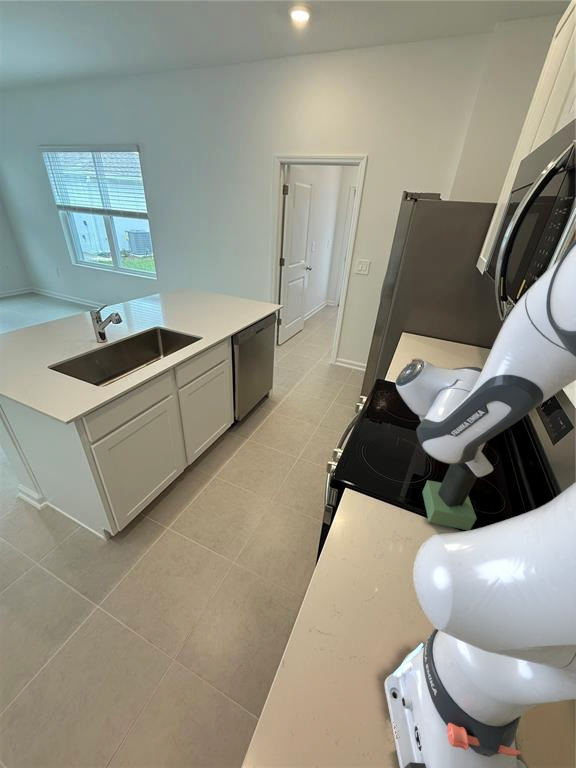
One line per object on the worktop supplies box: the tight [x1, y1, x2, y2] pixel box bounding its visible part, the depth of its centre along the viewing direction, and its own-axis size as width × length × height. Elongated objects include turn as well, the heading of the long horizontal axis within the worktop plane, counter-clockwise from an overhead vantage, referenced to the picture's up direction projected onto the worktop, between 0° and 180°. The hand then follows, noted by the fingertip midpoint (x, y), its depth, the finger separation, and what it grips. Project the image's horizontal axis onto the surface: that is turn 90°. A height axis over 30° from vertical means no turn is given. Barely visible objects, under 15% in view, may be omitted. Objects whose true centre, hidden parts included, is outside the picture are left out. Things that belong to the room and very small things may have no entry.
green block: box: [421, 479, 477, 531], centre depth 82 cm, size 10×10×5 cm
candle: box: [438, 442, 487, 507], centre depth 74 cm, size 5×5×25 cm
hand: (474, 454), depth 73 cm, fingers open, 8 cm apart
